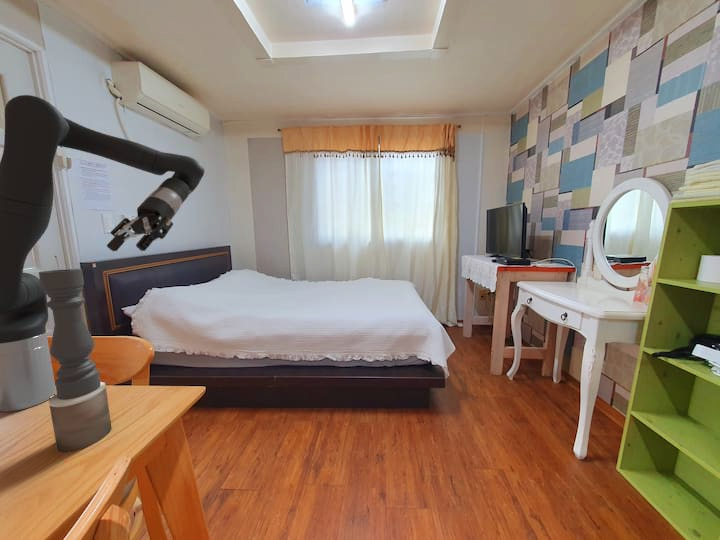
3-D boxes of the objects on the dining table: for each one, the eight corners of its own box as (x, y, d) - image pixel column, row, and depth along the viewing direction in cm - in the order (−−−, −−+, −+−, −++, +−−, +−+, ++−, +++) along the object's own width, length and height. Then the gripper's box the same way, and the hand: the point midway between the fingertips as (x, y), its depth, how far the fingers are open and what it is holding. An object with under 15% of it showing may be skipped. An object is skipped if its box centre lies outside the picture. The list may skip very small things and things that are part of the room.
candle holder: (108, 384, 57) (91, 269, 54) (70, 402, 52) (49, 273, 49) (88, 381, 59) (71, 268, 56) (49, 397, 53) (28, 272, 50)
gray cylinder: (62, 435, 57) (54, 391, 56) (113, 419, 62) (107, 377, 61) (52, 459, 51) (43, 409, 49) (109, 438, 56) (103, 393, 54)
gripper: (129, 197, 75) (87, 238, 65) (174, 194, 73) (138, 237, 63) (149, 217, 81) (113, 258, 71) (191, 216, 78) (160, 258, 69)
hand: (125, 248), depth 67 cm, fingers open, 8 cm apart
